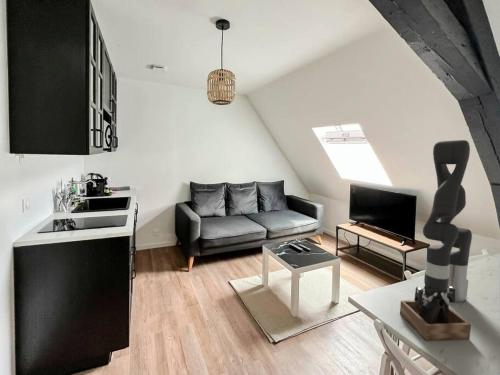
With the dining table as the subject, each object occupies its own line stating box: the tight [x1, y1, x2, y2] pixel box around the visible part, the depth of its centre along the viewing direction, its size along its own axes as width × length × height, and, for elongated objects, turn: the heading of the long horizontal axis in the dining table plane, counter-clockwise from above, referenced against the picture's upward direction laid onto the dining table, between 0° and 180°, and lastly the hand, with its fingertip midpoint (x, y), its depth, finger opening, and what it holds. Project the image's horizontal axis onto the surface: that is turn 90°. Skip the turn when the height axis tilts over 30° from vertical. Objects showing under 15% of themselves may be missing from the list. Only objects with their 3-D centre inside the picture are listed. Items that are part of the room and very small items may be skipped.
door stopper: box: [419, 296, 449, 324], centre depth 102 cm, size 9×6×12 cm, turn 100°
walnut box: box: [399, 299, 472, 342], centre depth 103 cm, size 16×16×6 cm
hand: (433, 312), depth 103 cm, fingers open, 8 cm apart
